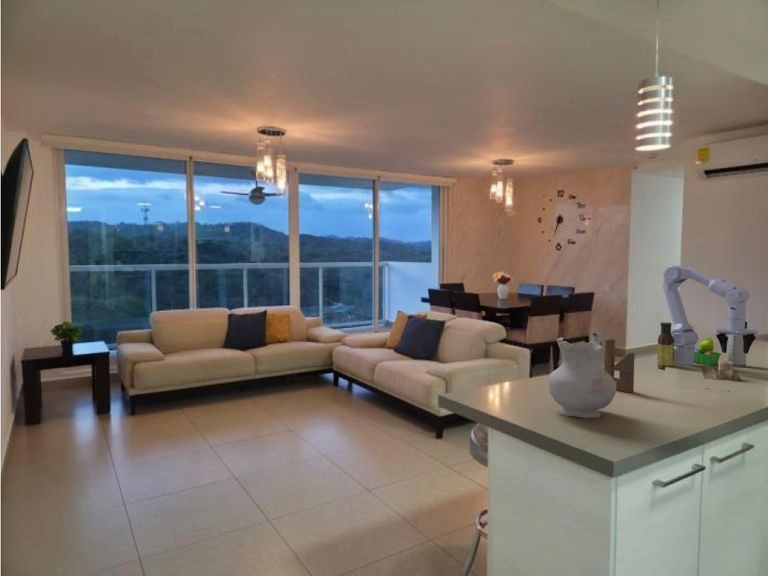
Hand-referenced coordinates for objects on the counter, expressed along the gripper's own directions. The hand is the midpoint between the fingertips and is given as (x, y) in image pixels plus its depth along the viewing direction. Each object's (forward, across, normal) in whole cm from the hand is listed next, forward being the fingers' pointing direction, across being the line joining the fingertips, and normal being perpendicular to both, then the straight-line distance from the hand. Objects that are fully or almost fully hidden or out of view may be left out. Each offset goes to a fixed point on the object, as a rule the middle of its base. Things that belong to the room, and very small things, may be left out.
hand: (734, 352), depth 198 cm
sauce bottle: (+10, -22, +11) cm, 26 cm away
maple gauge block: (+8, -7, -9) cm, 14 cm away
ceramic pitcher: (+10, -68, -57) cm, 89 cm away
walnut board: (+10, -6, -3) cm, 12 cm away
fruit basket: (+10, -1, +25) cm, 27 cm away
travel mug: (+10, +11, +22) cm, 26 cm away
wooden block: (+10, -50, -27) cm, 58 cm away
